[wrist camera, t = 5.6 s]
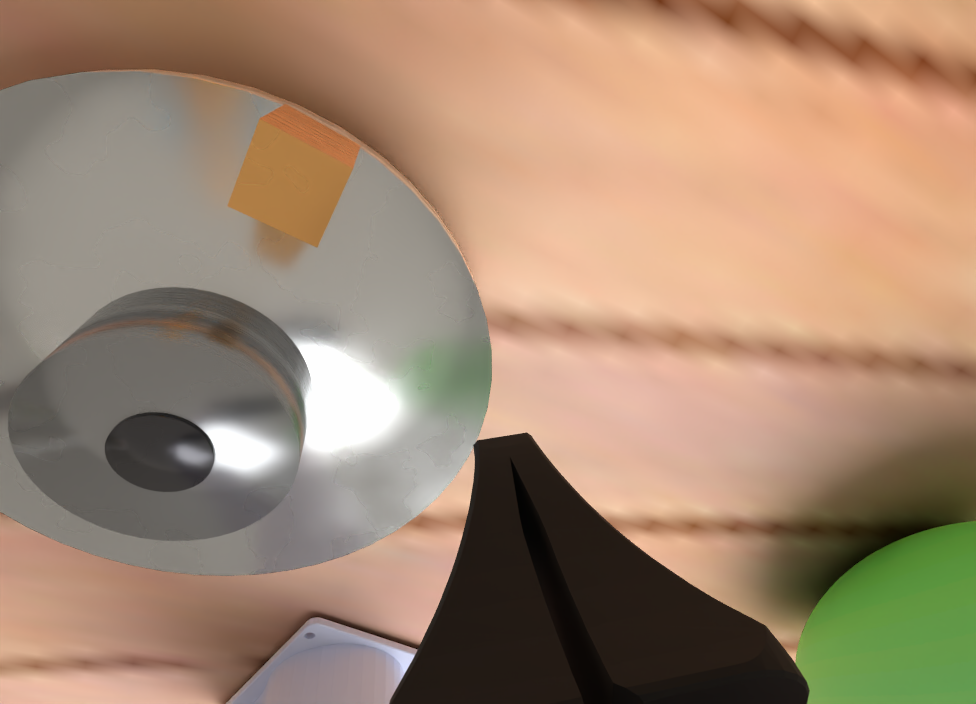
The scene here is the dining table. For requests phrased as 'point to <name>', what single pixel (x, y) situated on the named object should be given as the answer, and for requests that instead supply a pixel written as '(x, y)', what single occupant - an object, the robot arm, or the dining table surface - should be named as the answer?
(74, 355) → the cover
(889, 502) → the dining table surface
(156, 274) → the disc
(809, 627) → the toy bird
